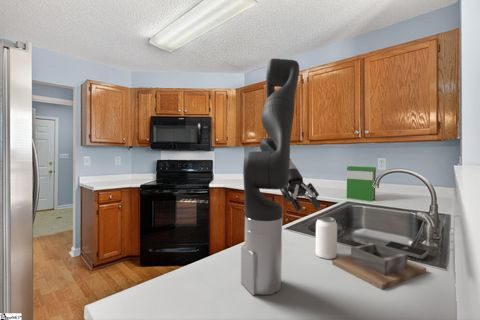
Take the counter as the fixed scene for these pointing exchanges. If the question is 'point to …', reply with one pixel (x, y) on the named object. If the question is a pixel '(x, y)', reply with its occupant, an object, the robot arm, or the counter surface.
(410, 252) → the external hard drive
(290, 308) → the counter surface
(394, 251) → the socket board
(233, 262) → the counter surface
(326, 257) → the can
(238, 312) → the counter surface
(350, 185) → the green cereal box
